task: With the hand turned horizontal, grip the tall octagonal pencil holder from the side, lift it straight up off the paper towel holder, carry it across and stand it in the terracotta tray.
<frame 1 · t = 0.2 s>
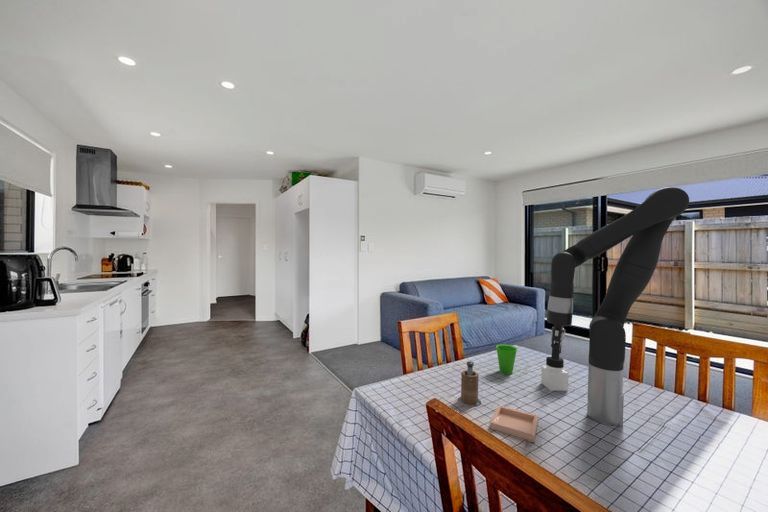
hand: (556, 356, 107), 18 cm above the table, tool pointing down, fingers open, 8 cm apart
octagonal pencil holder: (469, 401, 109), point 1 cm above the table, touching paper towel holder
medicine bottle: (554, 387, 123), on the table
tray: (514, 426, 95), on the table
paper towel holder: (469, 402, 109), on the table
cup: (506, 372, 137), on the table
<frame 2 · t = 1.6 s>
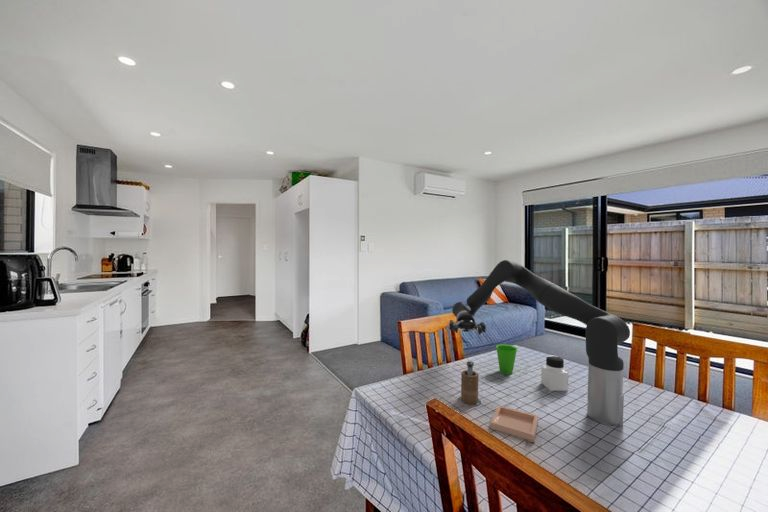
hand: (468, 331, 119), 23 cm above the table, tool horizontal, fingers open, 8 cm apart
nothing on the table moved.
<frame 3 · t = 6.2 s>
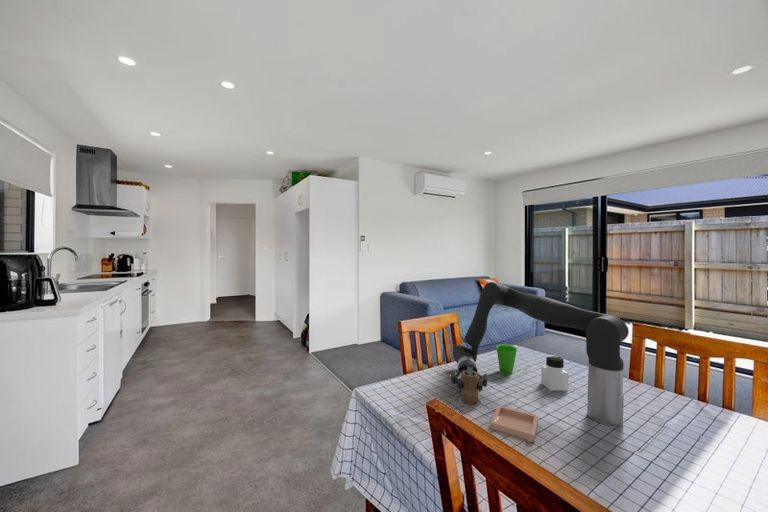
hand: (470, 387, 107), 7 cm above the table, tool horizontal, fingers closed on octagonal pencil holder, 6 cm apart
octagonal pencil holder: (469, 401, 109), point 1 cm above the table, touching gripper, paper towel holder
everything else where it was.
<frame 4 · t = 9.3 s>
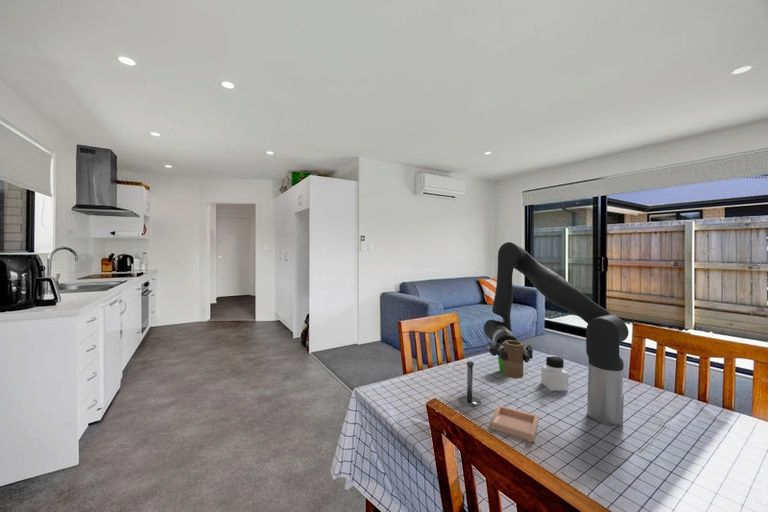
hand: (515, 358, 93), 22 cm above the table, tool horizontal, fingers closed on octagonal pencil holder, 6 cm apart
octagonal pencil holder: (513, 374, 95), point 16 cm above the table, touching gripper
everything else where it was.
when the fingers open (8 cm above the table, at t = 12.7 s): octagonal pencil holder drops 1 cm, resting on tray.
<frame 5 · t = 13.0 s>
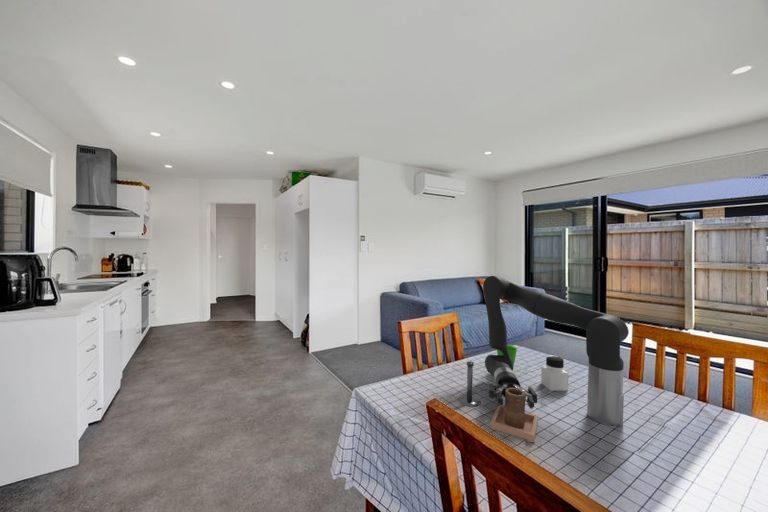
hand: (516, 404, 93), 8 cm above the table, tool horizontal, fingers open, 8 cm apart
octagonal pencil holder: (514, 423, 95), point 1 cm above the table, touching tray
everything else where it was.
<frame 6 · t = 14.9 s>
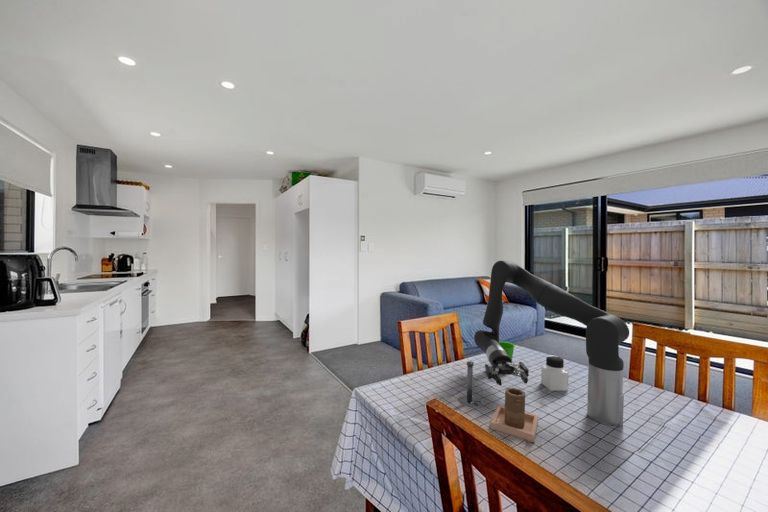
hand: (513, 382, 105), 9 cm above the table, tool horizontal, fingers open, 8 cm apart
cup: (504, 368, 141), on the table
everything else where it was.
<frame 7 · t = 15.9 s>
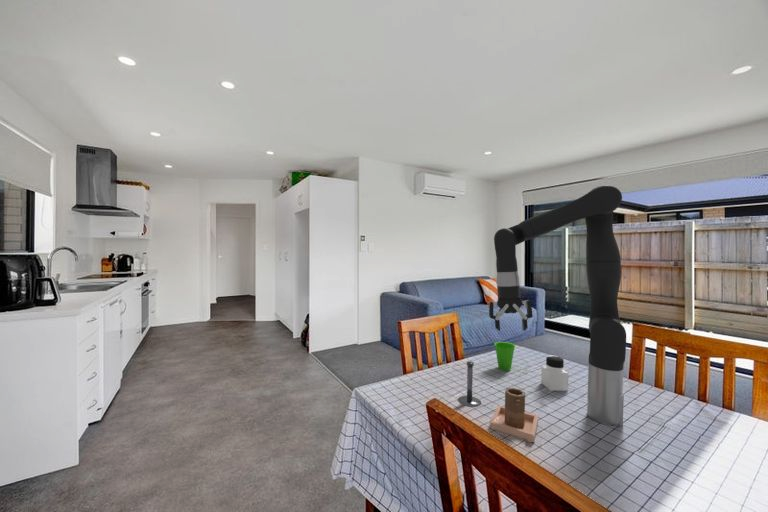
hand: (511, 330, 110), 26 cm above the table, tool pointing down, fingers open, 8 cm apart
nothing on the table moved.
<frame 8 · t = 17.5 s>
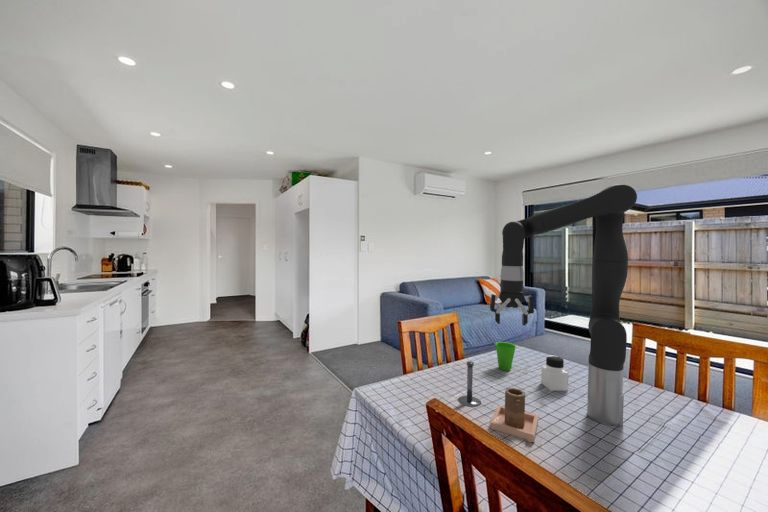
hand: (511, 324, 109), 28 cm above the table, tool pointing down, fingers open, 8 cm apart
nothing on the table moved.
at the end: octagonal pencil holder inside the target area on the tray (0.1 cm from its centre), point 0.8 cm above the tray's base; octagonal pencil holder tilted 0°; the gripper is holding nothing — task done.
